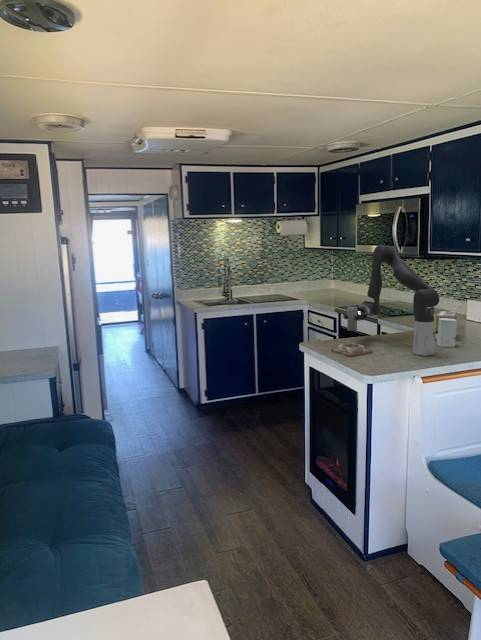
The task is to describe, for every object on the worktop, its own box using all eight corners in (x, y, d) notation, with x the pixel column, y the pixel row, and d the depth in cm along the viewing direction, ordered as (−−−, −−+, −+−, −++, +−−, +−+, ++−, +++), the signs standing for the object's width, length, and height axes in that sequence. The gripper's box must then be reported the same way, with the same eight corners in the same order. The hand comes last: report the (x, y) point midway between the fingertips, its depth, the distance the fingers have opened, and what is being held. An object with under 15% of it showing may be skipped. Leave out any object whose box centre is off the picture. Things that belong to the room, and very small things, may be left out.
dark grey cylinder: (358, 330, 248) (359, 307, 246) (351, 331, 246) (351, 308, 243) (352, 328, 252) (352, 306, 250) (345, 329, 250) (345, 307, 248)
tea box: (438, 334, 288) (440, 310, 285) (456, 336, 283) (458, 311, 280) (434, 339, 275) (436, 314, 272) (453, 341, 270) (455, 315, 267)
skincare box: (439, 346, 258) (441, 319, 255) (436, 344, 264) (438, 317, 261) (455, 347, 257) (457, 320, 254) (452, 344, 263) (454, 318, 260)
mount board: (372, 353, 248) (372, 346, 247) (350, 357, 241) (350, 350, 240) (352, 347, 261) (353, 341, 260) (331, 350, 254) (331, 344, 253)
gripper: (348, 304, 263) (337, 309, 248) (374, 306, 255) (364, 311, 241) (348, 318, 264) (337, 323, 250) (373, 320, 256) (364, 326, 242)
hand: (350, 317), depth 245 cm, fingers closed on dark grey cylinder, 5 cm apart
